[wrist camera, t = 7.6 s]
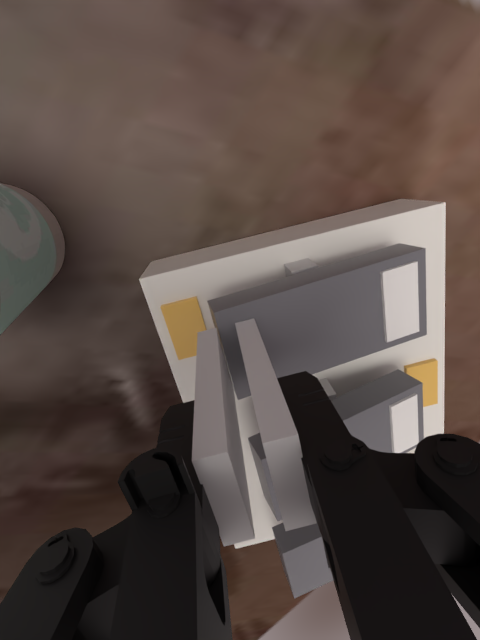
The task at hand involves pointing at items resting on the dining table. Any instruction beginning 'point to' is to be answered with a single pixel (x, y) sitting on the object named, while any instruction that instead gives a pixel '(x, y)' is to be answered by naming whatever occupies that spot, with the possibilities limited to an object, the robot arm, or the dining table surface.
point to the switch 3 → (302, 557)
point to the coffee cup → (25, 250)
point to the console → (286, 260)
